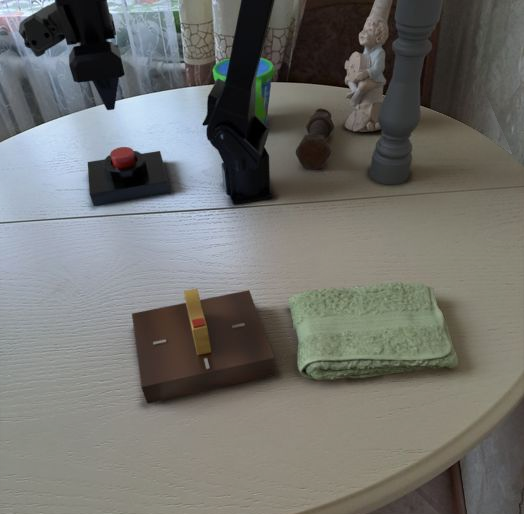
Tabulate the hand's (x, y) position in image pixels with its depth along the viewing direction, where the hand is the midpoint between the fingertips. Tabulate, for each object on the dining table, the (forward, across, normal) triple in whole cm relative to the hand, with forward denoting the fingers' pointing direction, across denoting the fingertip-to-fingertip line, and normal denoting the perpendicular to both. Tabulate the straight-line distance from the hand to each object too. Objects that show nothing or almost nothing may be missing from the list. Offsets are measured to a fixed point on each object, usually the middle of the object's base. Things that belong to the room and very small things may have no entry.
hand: (110, 108), depth 72 cm
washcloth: (+12, +42, +24) cm, 50 cm away
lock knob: (+9, +39, +5) cm, 40 cm away
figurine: (+12, -7, +44) cm, 46 cm away
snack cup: (+12, -14, +23) cm, 30 cm away
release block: (+12, 0, 0) cm, 12 cm away
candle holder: (+12, +10, +41) cm, 44 cm away
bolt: (+12, -2, +33) cm, 35 cm away
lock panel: (+12, +39, +5) cm, 41 cm away
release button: (+8, 0, 0) cm, 8 cm away
